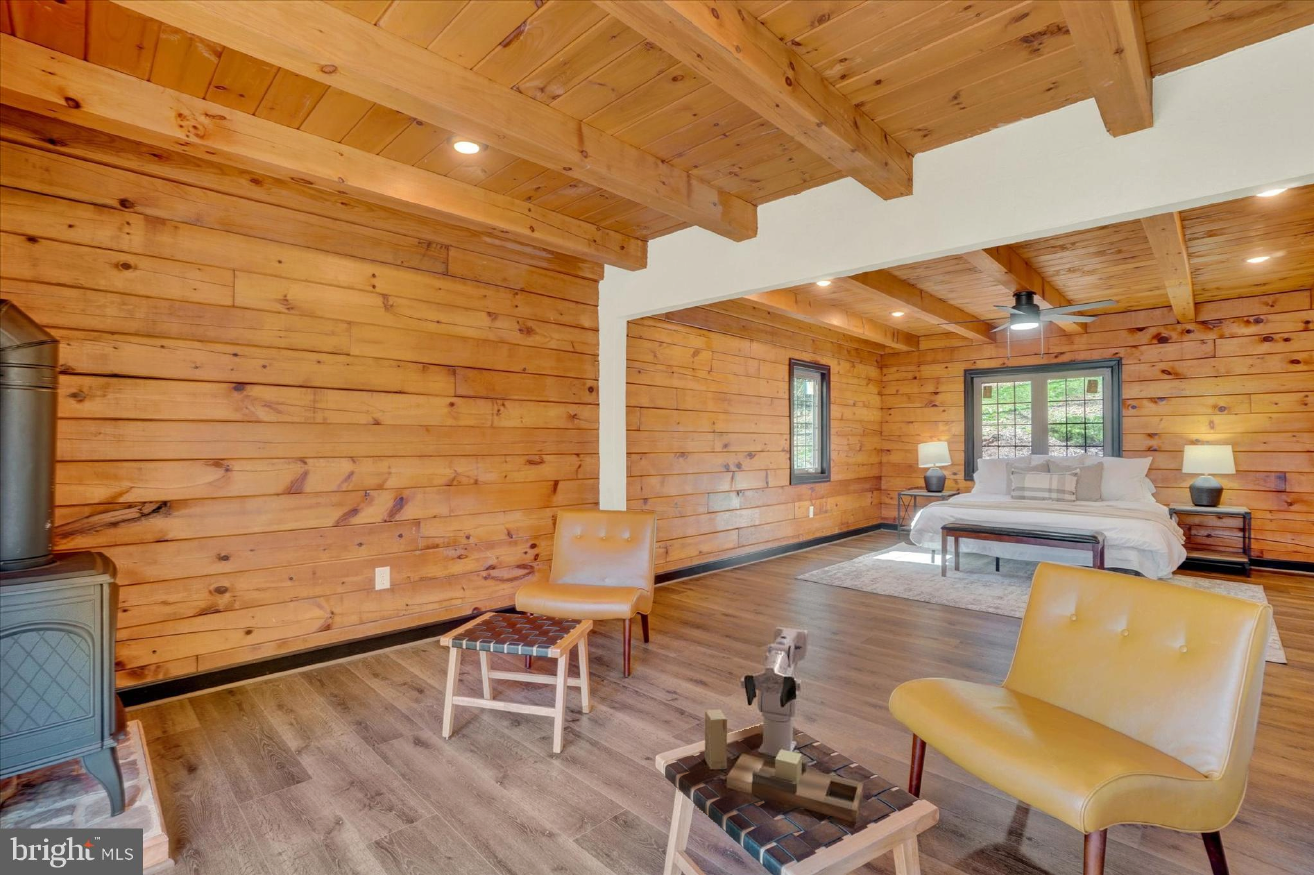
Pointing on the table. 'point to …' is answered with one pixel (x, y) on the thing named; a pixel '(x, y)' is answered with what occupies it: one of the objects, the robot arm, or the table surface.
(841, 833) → the table surface
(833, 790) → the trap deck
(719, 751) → the skincare box
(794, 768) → the sage block
